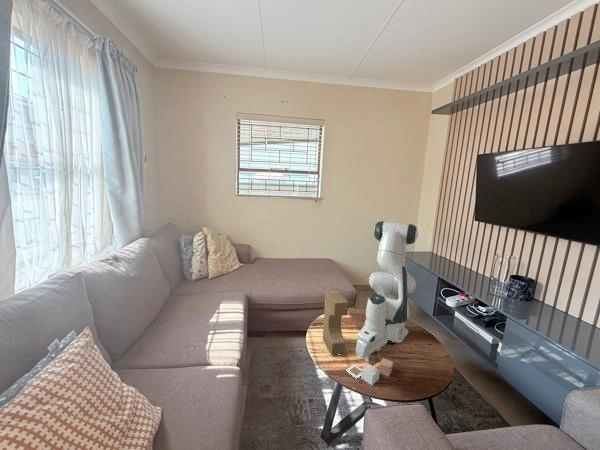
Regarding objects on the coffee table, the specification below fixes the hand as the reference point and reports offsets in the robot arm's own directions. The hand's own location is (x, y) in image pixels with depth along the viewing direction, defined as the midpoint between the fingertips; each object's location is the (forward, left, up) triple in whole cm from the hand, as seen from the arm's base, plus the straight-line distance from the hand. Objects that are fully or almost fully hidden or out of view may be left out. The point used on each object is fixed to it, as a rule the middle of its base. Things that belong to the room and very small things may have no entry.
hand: (371, 358), depth 126 cm
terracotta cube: (-10, +2, -11) cm, 15 cm away
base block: (0, 0, -11) cm, 11 cm away
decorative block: (-4, -27, -11) cm, 30 cm away
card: (+2, -7, -11) cm, 13 cm away
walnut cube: (0, 0, -2) cm, 2 cm away
